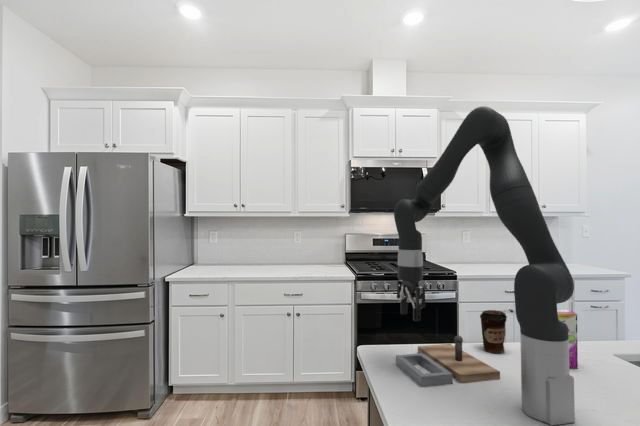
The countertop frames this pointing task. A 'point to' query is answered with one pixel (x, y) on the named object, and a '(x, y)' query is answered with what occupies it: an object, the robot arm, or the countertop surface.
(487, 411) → the countertop surface
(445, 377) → the grey picture frame
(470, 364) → the board
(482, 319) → the coffee cup
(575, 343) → the candy bar box
